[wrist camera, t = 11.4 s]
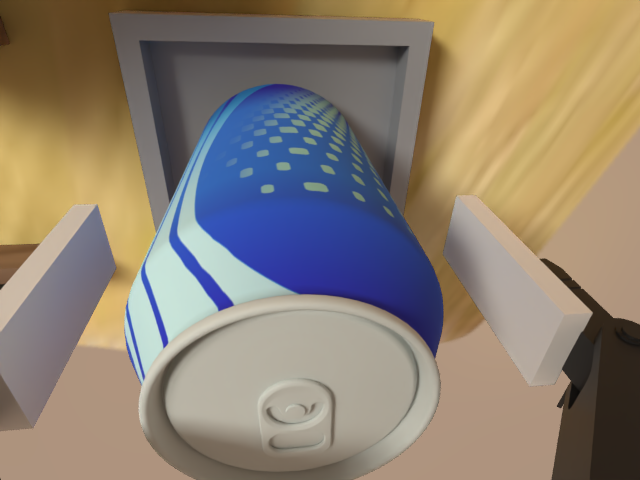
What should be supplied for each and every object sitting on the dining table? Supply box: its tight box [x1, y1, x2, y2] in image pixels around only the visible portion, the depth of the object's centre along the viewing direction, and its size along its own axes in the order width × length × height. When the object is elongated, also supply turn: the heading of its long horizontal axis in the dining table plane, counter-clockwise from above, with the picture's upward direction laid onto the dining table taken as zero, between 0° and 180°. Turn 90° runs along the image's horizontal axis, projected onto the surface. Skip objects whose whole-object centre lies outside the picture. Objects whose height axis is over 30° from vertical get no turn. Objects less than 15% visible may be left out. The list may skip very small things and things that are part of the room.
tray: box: [109, 10, 434, 233], centre depth 22 cm, size 14×14×2 cm
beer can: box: [125, 84, 443, 480], centre depth 16 cm, size 8×8×16 cm
